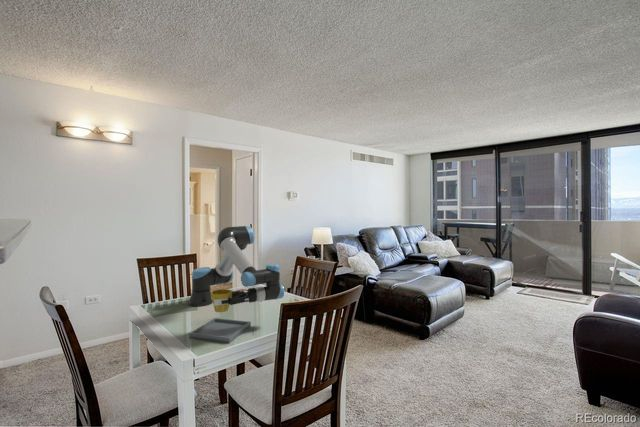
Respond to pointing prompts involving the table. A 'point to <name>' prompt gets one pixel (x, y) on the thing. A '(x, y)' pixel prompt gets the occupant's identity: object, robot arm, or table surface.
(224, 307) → the plant pot
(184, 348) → the table surface
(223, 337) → the tray
